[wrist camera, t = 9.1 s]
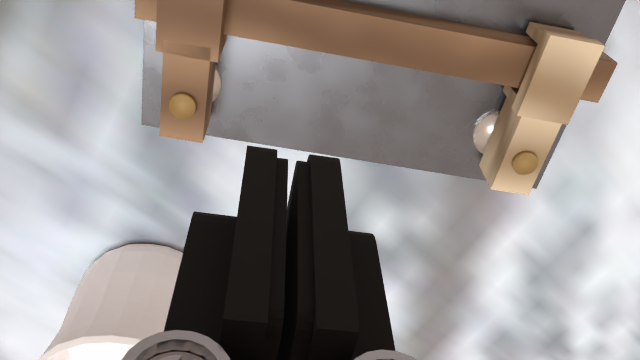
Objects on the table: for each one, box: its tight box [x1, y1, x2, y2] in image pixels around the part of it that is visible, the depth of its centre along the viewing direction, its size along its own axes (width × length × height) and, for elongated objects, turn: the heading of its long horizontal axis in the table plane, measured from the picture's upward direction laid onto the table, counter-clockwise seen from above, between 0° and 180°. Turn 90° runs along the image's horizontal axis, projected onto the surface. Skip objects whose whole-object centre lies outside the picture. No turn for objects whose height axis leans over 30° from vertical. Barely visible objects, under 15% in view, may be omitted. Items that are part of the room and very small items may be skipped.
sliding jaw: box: [479, 22, 605, 195], centre depth 32 cm, size 10×3×3 cm, turn 169°
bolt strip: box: [142, 0, 626, 189], centre depth 33 cm, size 13×26×1 cm, turn 79°
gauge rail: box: [135, 0, 617, 143], centre depth 32 cm, size 10×26×5 cm, turn 79°
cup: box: [39, 244, 183, 360], centre depth 39 cm, size 10×10×10 cm
